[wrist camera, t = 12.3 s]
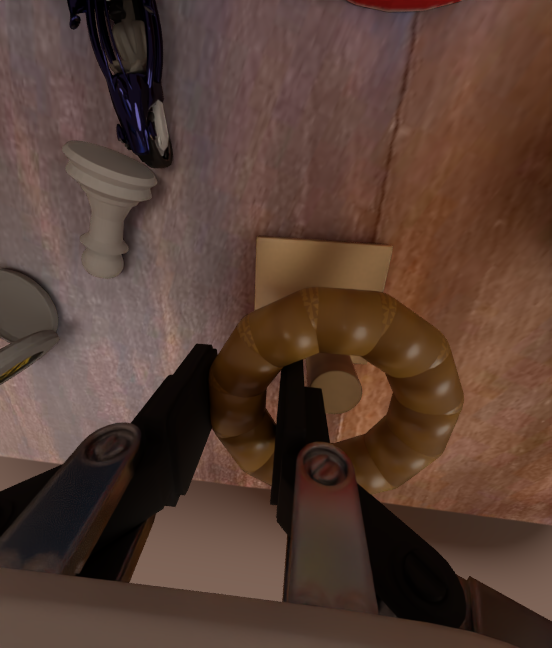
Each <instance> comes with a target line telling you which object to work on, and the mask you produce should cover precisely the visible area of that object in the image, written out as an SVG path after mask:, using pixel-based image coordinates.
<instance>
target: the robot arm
mask: <svg viewBox="0 0 552 648" xmlns="http://www.w3.org/2000/svg"><path fill="white" fill-rule="evenodd" d="M216 357H217V349H213V347H212V345H208V344H196V345H195V346H194V348H193V349H192V350H191V351H190V353H189V354H188V355H187V357H186V358H185V359H184V361H183V362H182V363H181V365H180V366H179V367H178V369H177V370H176V371H175V373H174V374H173V375H169V376H168V377H167V378H166V379H165V380H164V381H163V383H162V384H161V385H160V386H159V388H158V389H157V390H156V392H155V393H154V394H153V395H152V397H151V398H150V399H149V400H148V402H147V403H146V404H145V406H144V407H143V408H142V409H141V411H140V412H139V413H138V415H137V416H136V417H135V418H134V420H133V421H132V422H131V423H126V422H125V423H115V424H111V425H107V426H105V427H102V428H100V429H98V430H96V431H95V432H93V433H92V434H90V435H89V436H88V437H87V438H86V439H85V440H84V441H83V442H82V443H81V444H80V445H79V446H78V447H77V449H76V450H75V451H74V452H73V453H72V454H71V456H70V457H69V458H68V459H67V460H66V461H65V463H64V464H62V465H60V466H58V467H55V468H53V469H51V470H48V471H46V472H44V473H42V474H39V475H37V476H35V477H32V478H30V479H28V480H25V481H23V482H21V483H19V484H16V485H14V486H12V487H10V488H7V489H5V490H3V491H0V648H552V621H550V620H548V619H546V618H544V617H543V616H541V615H539V614H537V613H535V612H534V611H532V610H530V609H528V608H526V607H525V606H523V605H521V604H519V603H517V602H515V601H514V600H512V599H510V598H508V597H507V596H505V595H503V594H501V593H499V592H498V591H496V590H494V589H492V588H490V587H488V586H487V585H485V584H483V583H481V582H480V581H478V580H476V579H474V578H472V577H471V576H469V578H468V579H467V580H465V579H464V578H462V577H460V576H458V575H457V574H455V572H454V571H453V569H452V568H451V566H450V565H449V563H448V562H447V561H446V560H445V559H444V558H443V557H442V556H441V555H440V554H439V553H438V552H437V551H436V550H435V549H434V548H433V547H432V546H430V545H429V544H428V543H427V542H426V541H425V540H423V539H422V538H421V537H420V536H419V535H418V534H416V533H415V532H414V531H413V530H412V529H410V528H409V527H408V526H407V525H406V524H405V523H404V522H402V521H401V520H400V519H399V518H397V516H395V515H394V514H393V513H392V512H391V511H389V510H388V509H387V508H386V507H385V506H384V505H383V504H381V503H380V502H379V501H378V500H377V499H376V498H374V497H373V496H372V495H371V494H370V493H369V492H367V491H366V490H365V489H364V488H363V487H361V486H360V485H359V484H358V483H357V481H356V475H355V469H354V466H353V463H352V461H351V459H350V458H349V456H348V455H347V454H346V453H345V452H344V451H343V450H342V449H341V448H339V447H337V446H335V445H333V444H330V440H329V433H328V427H327V420H326V413H325V407H324V400H323V393H322V389H321V388H314V387H304V371H303V359H302V360H299V361H297V362H294V363H292V364H289V365H287V366H284V367H283V368H282V369H281V379H280V390H279V401H278V412H277V423H276V435H275V448H274V461H273V474H272V487H271V500H270V504H271V505H277V516H276V518H277V522H278V523H279V525H280V526H281V527H282V528H283V530H284V531H285V532H286V533H287V545H286V559H285V571H284V572H285V573H284V585H283V598H282V602H278V601H270V600H262V599H255V598H246V597H239V596H231V595H223V594H216V593H208V592H199V591H191V590H183V589H174V588H167V587H159V586H150V585H142V584H134V583H129V582H130V580H131V577H132V575H133V572H134V570H135V567H136V565H137V562H138V560H139V557H140V554H141V552H142V550H143V547H144V545H145V542H146V540H147V538H148V535H149V532H150V530H151V528H152V525H153V523H154V519H155V515H156V513H157V512H159V511H160V510H162V509H163V508H164V506H172V507H175V506H176V504H177V502H178V499H179V497H180V495H185V494H186V492H187V491H188V488H189V486H190V483H191V480H192V478H193V475H194V473H195V470H196V467H197V465H198V462H199V460H200V457H201V455H202V452H203V449H204V447H205V444H206V442H207V439H208V437H209V434H210V431H211V429H212V425H211V419H210V400H209V382H208V376H209V370H210V367H211V365H212V363H213V361H214V360H215V358H216Z"/></svg>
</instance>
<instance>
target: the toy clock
mask: <svg viewBox="0 0 552 648" xmlns="http://www.w3.org/2000/svg"><path fill="white" fill-rule="evenodd" d="M347 1H349V2H351V3H353V4H355V5H358V6H363V7H367V8H372V9H377V10H381V11H386V12H407V11H425V10H429V9H433V8H437V7H441V6H445V5H448V4H452V3H456V2H460V1H462V0H347Z"/></svg>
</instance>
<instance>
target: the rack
mask: <svg viewBox="0 0 552 648" xmlns="http://www.w3.org/2000/svg"><path fill="white" fill-rule="evenodd" d="M392 251H393V246H391V245H388V244H378V243H363V242H348V241H333V240H318V239H303V238H288V237H274V236H258V237H257V238H256V270H255V307H254V311H255V310H257V309H259V308H261V307H264V306H266V305H268V304H270V303H272V302H274V301H277V300H279V299H281V298H283V297H285V296H287V295H290V294H292V293H294V292H296V291H298V290H300V289H303V288H306V287H331V288H345V289H358V290H372V291H380V292H383V291H384V286H385V282H386V277H387V273H388V268H389V264H390V260H391V255H392ZM304 359H306V370H307V386H308V387H314V388H321V389H322V393H323V400H324V407H325V413H328V414H340V413H344V412H347V411H349V410H351V409H352V408H354V407H355V406H356V405H357V404H358V402H359V401H360V399H361V396H362V387H361V384H360V381H359V379H358V376H357V373H356V371H355V368H354V365H353V363H355V364H367V361H366V360H365V359H363V358H362V357H360V356H353V355H341V354H329V353H317V354H315V355H312V356H310V357H307V358H304Z"/></svg>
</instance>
